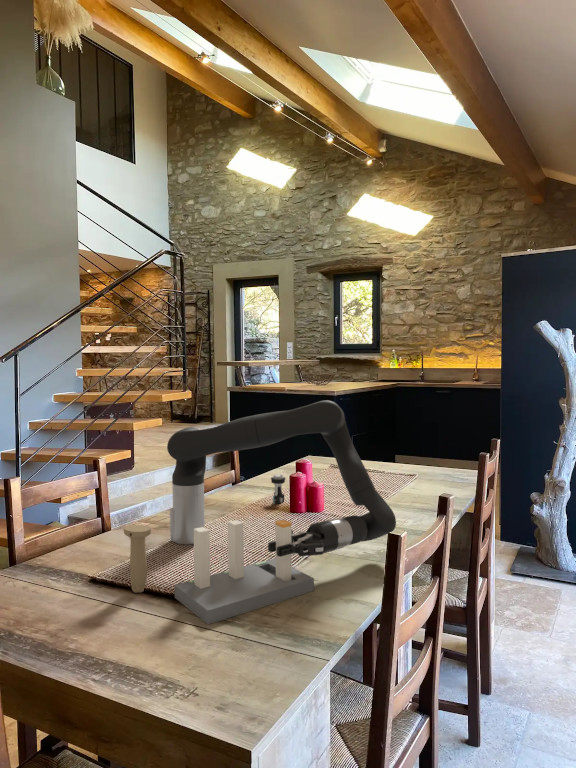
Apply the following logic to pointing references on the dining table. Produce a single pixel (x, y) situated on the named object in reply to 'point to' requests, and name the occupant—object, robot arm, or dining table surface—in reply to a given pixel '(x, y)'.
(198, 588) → the three peg stand
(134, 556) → the handle
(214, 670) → the dining table surface
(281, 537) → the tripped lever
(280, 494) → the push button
